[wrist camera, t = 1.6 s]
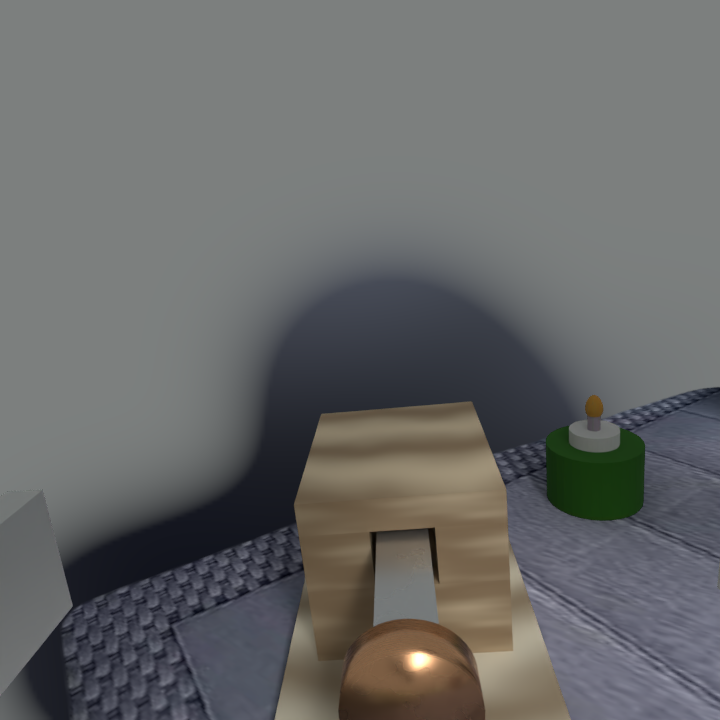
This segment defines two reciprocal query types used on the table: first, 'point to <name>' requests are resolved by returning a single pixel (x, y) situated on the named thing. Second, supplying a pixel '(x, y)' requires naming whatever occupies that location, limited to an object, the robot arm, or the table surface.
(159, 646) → the table surface
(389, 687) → the door knob
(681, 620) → the table surface
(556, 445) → the candle
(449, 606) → the press block
